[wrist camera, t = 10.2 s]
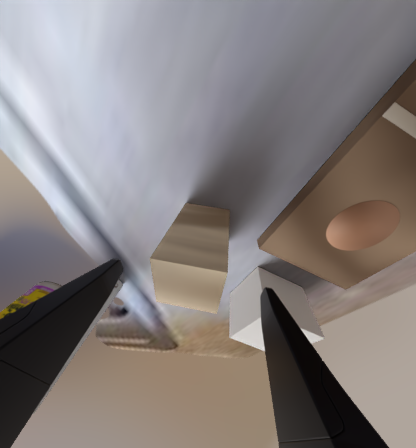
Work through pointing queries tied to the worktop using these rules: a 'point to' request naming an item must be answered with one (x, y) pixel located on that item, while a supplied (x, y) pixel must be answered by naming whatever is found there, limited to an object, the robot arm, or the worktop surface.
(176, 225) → the tan rectangular block
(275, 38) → the worktop surface
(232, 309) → the block
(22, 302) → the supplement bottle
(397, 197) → the board
